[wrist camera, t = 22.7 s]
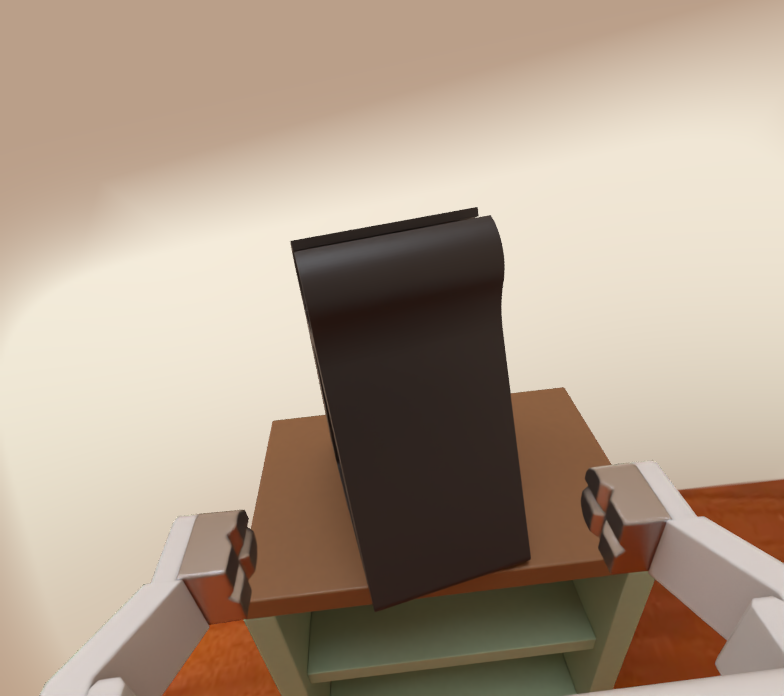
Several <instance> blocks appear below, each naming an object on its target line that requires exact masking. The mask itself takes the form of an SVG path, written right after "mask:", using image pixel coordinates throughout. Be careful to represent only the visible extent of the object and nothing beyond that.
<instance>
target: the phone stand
mask: <svg viewBox="0 0 784 696" xmlns="http://www.w3.org/2000/svg"><path fill="white" fill-rule="evenodd" d="M477 216H478V208H477V207H475V208H470V209H464V210H459V211H453V212H448V213H442V214H437V215H431V216H426V217H421V218H415V219H410V220H404V221H398V222H393V223H388V224H382V225H376V226H371V227H365V228H360V229H354V230H349V231H343V232H338V233H332V234H327V235H322V236H316V237H311V238H305V239H299V240H294V241H291V248H292V253H293V259H294V263H295V268H296V273H297V277H298V282H299V287H300V291H301V296H302V300H303V305H304V310H305V314H306V319H307V324H308V328H309V333H310V339H311V344H312V349H313V353H314V359H315V364H316V369H317V374H318V379H319V384H320V388H321V393H322V398H323V403H324V408H325V413H326V418H327V423H328V428H329V433H330V438H331V442H332V447H333V451H334V454H335V458H336V462H337V466H338V470H339V474H340V478H341V482H342V486H343V490H344V494H345V498H346V502H347V506H348V510H349V513H350V517H351V521H352V525H353V529H354V533H355V537H356V541H357V545H358V549H359V553H360V557H361V561H362V565H363V569H364V573H365V577H366V581H367V584H368V588H369V592H370V596H371V600H372V604H373V608H374V612H378V611H381V610H384V609H387V608H390V607H393V606H396V605H399V604H402V603H405V602H408V601H410V600H413V599H416V598H419V597H422V596H425V595H428V594H431V593H434V592H437V591H440V590H443V589H446V588H449V587H452V586H455V585H458V584H461V583H464V582H467V581H470V580H473V579H476V578H479V577H482V576H485V575H488V574H491V573H494V572H497V571H500V570H502V569H505V568H508V567H511V566H514V565H517V564H520V563H523V562H526V561H529V560H531V554H530V546H529V538H528V530H527V522H526V514H525V506H524V497H523V489H522V481H521V473H520V465H519V457H518V449H517V441H516V433H515V425H514V417H513V409H512V401H511V393H510V385H509V377H508V369H507V361H506V353H505V346H504V337H503V328H502V316H501V299H502V288H503V281H504V254H503V248H502V243H501V238H500V235H499V232H498V229H497V227H496V224H495V222H494V220H493V219H492V217H491V215H489V216H484V217H479V218H475V217H477Z"/></svg>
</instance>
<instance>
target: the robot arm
mask: <svg viewBox="0 0 784 696" xmlns="http://www.w3.org/2000/svg"><path fill="white" fill-rule="evenodd" d="M585 480H586V482H587V484H588V486H587V487H586V488H585V489H584V490H583V491H582V495H581V508H582V514H583V517H584V520H585V523H586V525H587V527H588V529H589V531H590V532H591V533H593V534H594V535H596V536H597V537H598V538H600V541H599V545H598V549H599V552H600V554H601V556H602V558H603V560H604V562H605V564H606V566H607V568H608V570H609V572H610V574H622V573H633V572H643V571H648V573H649V574H650V575H651V576H652V577H653V578H654V579H656V580H657V581H658V582H659V583H660V584H661V585H663V586H664V587H665V588H666V589H667V590H668V591H670V592H671V593H672V594H673V595H674V596H676V597H677V598H678V599H679V600H680V601H681V602H683V603H684V604H685V605H686V606H687V607H688V608H690V609H691V610H692V611H693V612H694V613H695V614H697V615H698V616H699V617H700V618H701V619H702V620H704V621H705V622H706V623H707V624H708V625H710V626H711V627H712V628H713V629H714V630H715V631H717V632H718V633H719V634H720V635H721V636H722V637H724V638H725V639H726V640H727V642H726V644H725V645H724V647H723V649H722V650H721V652H720V654H719V655H718V657H717V659H716V662H715V665H716V667H717V669H718V671H719V672H720V674H721V676H716V677H708V678H700V679H692V680H684V681H676V682H668V683H660V684H652V685H644V686H636V687H629V688H621V689H613V690H605V691H597V692H589V693H581V694H573V695H565V696H784V563H782V562H780V561H779V560H777V559H775V558H774V557H772V556H770V555H769V554H767V553H765V552H763V551H762V550H760V549H758V548H757V547H755V546H753V545H752V544H750V543H748V542H746V541H745V540H743V539H741V538H740V537H738V536H736V535H735V534H733V533H731V532H730V531H728V530H726V529H724V528H723V527H721V526H719V525H718V524H716V523H714V522H713V521H711V520H709V519H707V518H706V517H697V516H696V514H695V513H694V512H693V510H692V509H691V508H690V506H689V505H688V504H687V502H686V501H685V500H684V498H683V497H682V495H681V494H680V493H679V491H678V490H677V489H676V488H675V486H674V485H673V483H672V482H671V481H670V479H669V478H668V477H667V475H666V474H665V473H664V471H663V470H662V469H661V467H660V466H659V464H658V463H656V462H655V461H653V460H651V461H642V462H633V463H622V464H615V465H607V466H599V467H592V468H589V469H588V470H587V471H586V475H585ZM248 519H249V518H248V516H247V514H246V512H245V510H235V511H225V512H214V513H203V514H194V515H184V516H178V517H177V518H176V519H175V521H174V522H173V523H172V526H171V529H170V532H169V534H168V537H167V540H166V542H165V545H164V548H163V551H162V553H161V556H160V559H159V562H158V564H157V567H156V570H155V572H154V575H153V578H152V581H151V583H148V584H144V585H143V586H142V587H141V588H140V589H139V590H138V591H137V592H136V593H135V594H134V595H133V596H132V597H131V598H130V599H129V600H128V601H127V602H126V603H125V604H124V605H123V606H122V607H121V608H120V609H119V610H118V611H117V612H116V613H115V614H114V615H113V616H112V617H111V618H110V619H109V620H108V621H107V622H106V623H105V624H104V625H103V626H102V627H101V628H100V629H99V630H98V631H97V632H96V633H95V634H94V635H93V636H92V637H91V638H90V639H89V640H88V641H87V642H86V643H85V644H84V645H83V646H82V647H81V648H80V649H79V650H78V651H77V652H76V653H75V654H74V655H73V656H72V657H71V658H70V659H69V660H68V661H67V662H66V663H65V664H64V665H63V666H62V667H61V668H60V669H59V671H57V672H56V673H55V674H54V675H53V676H52V677H51V678H50V679H49V681H47V682H46V684H45V685H44V687H43V689H42V691H41V693H40V695H39V696H162V695H163V694H164V692H165V691H166V689H167V688H168V686H169V685H170V683H171V682H172V681H173V679H174V678H175V676H176V675H177V673H178V672H179V671H180V669H181V668H182V666H183V665H184V663H185V662H186V660H187V659H188V658H189V656H190V655H191V653H192V652H193V650H194V649H195V648H196V646H197V645H198V643H199V642H200V640H201V639H202V638H203V636H204V635H205V633H206V632H207V630H208V629H209V625H212V624H218V623H225V622H232V621H238V620H245V619H247V616H248V611H249V605H250V600H251V594H252V589H251V586H250V584H249V582H248V580H249V579H250V578H251V576H252V575H253V574H254V573H255V571H256V565H257V541H256V536H255V534H254V531H253V530H251V529H250V528H248V527H247V524H248Z"/></svg>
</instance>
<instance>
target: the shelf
mask: <svg viewBox="0 0 784 696" xmlns="http://www.w3.org/2000/svg"><path fill="white" fill-rule="evenodd" d="M511 401H512V409H513V417H514V425H515V433H516V441H517V449H518V457H519V465H520V473H521V481H522V489H523V497H524V506H525V514H526V522H527V530H528V538H529V546H530V554H531V560H529V561H526V562H523V563H520V564H517V565H514V566H511V567H508V568H505V569H502V570H500V571H497V572H494V573H491V574H488V575H485V576H482V577H479V578H476V579H473V580H470V581H467V582H464V583H461V584H458V585H455V586H452V587H449V588H446V589H443V590H440V591H437V592H434V593H431V594H428V595H425V596H422V597H419V598H416V599H413V600H410V601H408V602H405V603H402V604H399V605H396V606H393V607H390V608H387V609H384V610H381V611H378V612H374V608H373V604H372V600H371V596H370V592H369V588H368V584H367V581H366V577H365V573H364V569H363V565H362V561H361V557H360V553H359V549H358V545H357V541H356V537H355V533H354V529H353V525H352V521H351V517H350V513H349V510H348V506H347V502H346V498H345V494H344V490H343V486H342V482H341V478H340V474H339V470H338V466H337V462H336V458H335V454H334V451H333V447H332V442H331V438H330V433H329V428H328V423H327V418H326V415H321V416H320V415H319V416H311V417H302V418H294V419H285V420H276V421H273V422H272V427H271V432H270V437H269V442H268V447H267V452H266V457H265V462H264V467H263V471H262V476H261V481H260V487H259V492H258V496H257V502H256V506H255V511H254V516H253V521H252V526H251V530H253V531H254V534H255V536H256V541H257V565H256V571H255V573H254V574H253V575H252V576H251V578H250V579H249V580H248V582H249V584H250V586H251V589H252V594H251V600H250V605H249V611H248V616H247V619H245V620H244V622H245V624H246V626H247V628H248V630H249V632H250V634H251V636H252V638H253V640H254V642H255V644H256V646H257V648H258V650H259V652H260V654H261V656H262V658H263V660H264V662H265V664H266V666H267V668H268V670H269V672H270V674H271V676H272V678H273V680H274V682H275V684H276V686H277V688H278V690H279V692H280V694H281V696H565V695H573V694H581V693H589V692H597V691H605V690H612V689H613V687H614V684H615V682H616V679H617V676H618V674H619V671H620V669H621V666H622V663H623V661H624V658H625V656H626V653H627V650H628V648H629V645H630V643H631V640H632V638H633V635H634V632H635V630H636V627H637V625H638V622H639V619H640V617H641V614H642V612H643V609H644V606H645V604H646V601H647V599H648V596H649V593H650V591H651V588H652V586H653V583H654V581H655V579H654V578H653V577H652V576H651V575H650V574H649V573H648V571H643V572H633V573H622V574H610V572H609V570H608V568H607V566H606V564H605V562H604V560H603V558H602V556H601V554H600V552H599V549H598V545H599V541H600V538H598V537H597V536H596V535H594V534H593V533H591V532H590V531H589V529H588V527H587V525H586V523H585V520H584V517H583V514H582V508H581V495H582V491H583V490H584V489H585V488H586V487H587V486H588V484H587V482H586V480H585V475H586V471H587V470H588V469H589V468H592V467H599V466H607V465H611V463H610V461H609V460H608V458H607V457H606V455H605V453H604V452H603V450H602V448H601V447H600V445H599V444H598V442H597V440H596V439H595V437H594V435H593V434H592V432H591V430H590V429H589V427H588V426H587V424H586V422H585V421H584V419H583V417H582V416H581V414H580V412H579V411H578V409H577V408H576V406H575V404H574V403H573V401H572V400H571V398H570V396H569V395H568V393H567V391H566V390H565V388H563V387H562V388H553V389H545V390H537V391H527V392H519V393H511Z"/></svg>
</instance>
